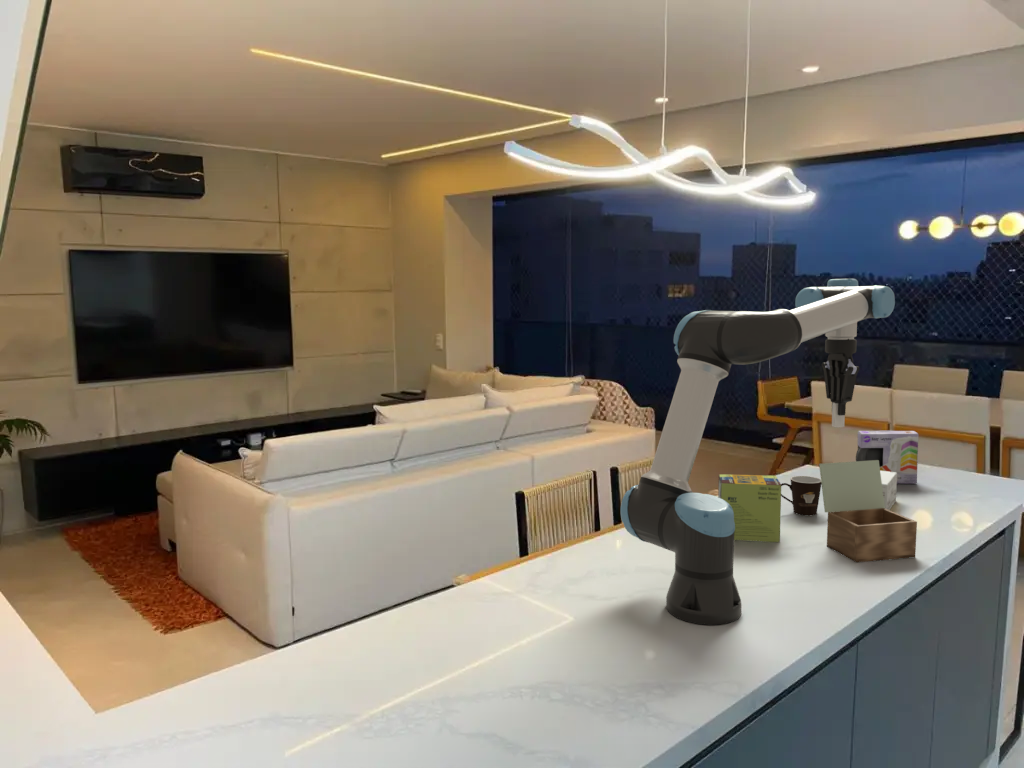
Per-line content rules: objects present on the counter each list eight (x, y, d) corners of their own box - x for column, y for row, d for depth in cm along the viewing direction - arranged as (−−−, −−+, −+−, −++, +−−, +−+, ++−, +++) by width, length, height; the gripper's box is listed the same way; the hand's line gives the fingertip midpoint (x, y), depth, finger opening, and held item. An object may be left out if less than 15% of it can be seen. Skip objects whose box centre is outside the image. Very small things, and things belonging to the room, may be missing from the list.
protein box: (780, 542, 195) (782, 484, 193) (719, 540, 198) (720, 482, 196) (775, 530, 205) (776, 475, 203) (717, 527, 208) (717, 473, 206)
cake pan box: (856, 483, 252) (858, 432, 250) (852, 480, 257) (854, 429, 255) (917, 485, 249) (920, 433, 246) (912, 481, 254) (914, 430, 251)
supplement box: (850, 495, 238) (851, 466, 237) (896, 501, 231) (897, 472, 229) (838, 508, 225) (839, 478, 223) (886, 515, 217) (887, 483, 216)
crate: (856, 562, 179) (857, 526, 178) (826, 546, 191) (827, 512, 190) (915, 557, 182) (917, 521, 181) (882, 541, 194) (884, 508, 193)
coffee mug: (823, 510, 222) (824, 478, 220) (817, 518, 214) (818, 484, 213) (782, 505, 228) (783, 473, 227) (776, 512, 221) (776, 479, 219)
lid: (820, 463, 192) (818, 463, 193) (826, 512, 190) (824, 512, 191) (878, 460, 195) (876, 460, 196) (884, 507, 193) (882, 507, 194)
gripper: (870, 339, 189) (866, 430, 192) (838, 336, 202) (836, 422, 205) (843, 340, 188) (840, 432, 191) (813, 337, 201) (811, 423, 204)
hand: (838, 426), depth 198 cm, fingers closed
